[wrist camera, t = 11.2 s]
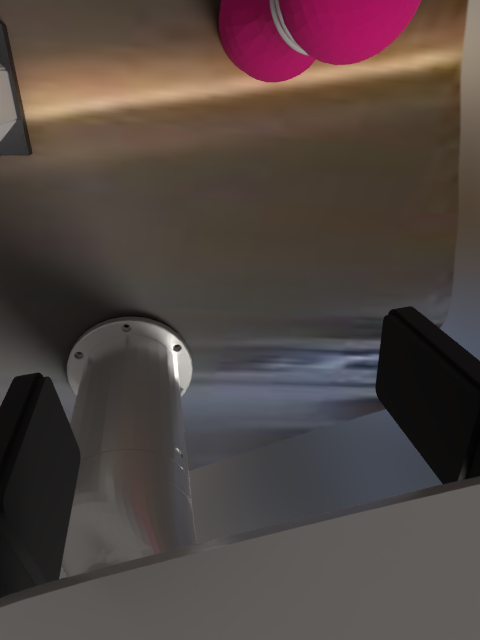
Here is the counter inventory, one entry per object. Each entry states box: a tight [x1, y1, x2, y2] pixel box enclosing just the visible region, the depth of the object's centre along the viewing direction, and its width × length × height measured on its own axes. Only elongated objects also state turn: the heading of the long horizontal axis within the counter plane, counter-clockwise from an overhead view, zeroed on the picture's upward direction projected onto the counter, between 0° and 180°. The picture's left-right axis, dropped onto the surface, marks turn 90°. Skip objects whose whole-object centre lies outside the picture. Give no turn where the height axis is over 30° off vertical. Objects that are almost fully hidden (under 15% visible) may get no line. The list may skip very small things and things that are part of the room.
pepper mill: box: [219, 0, 421, 82], centre depth 21 cm, size 7×7×20 cm
